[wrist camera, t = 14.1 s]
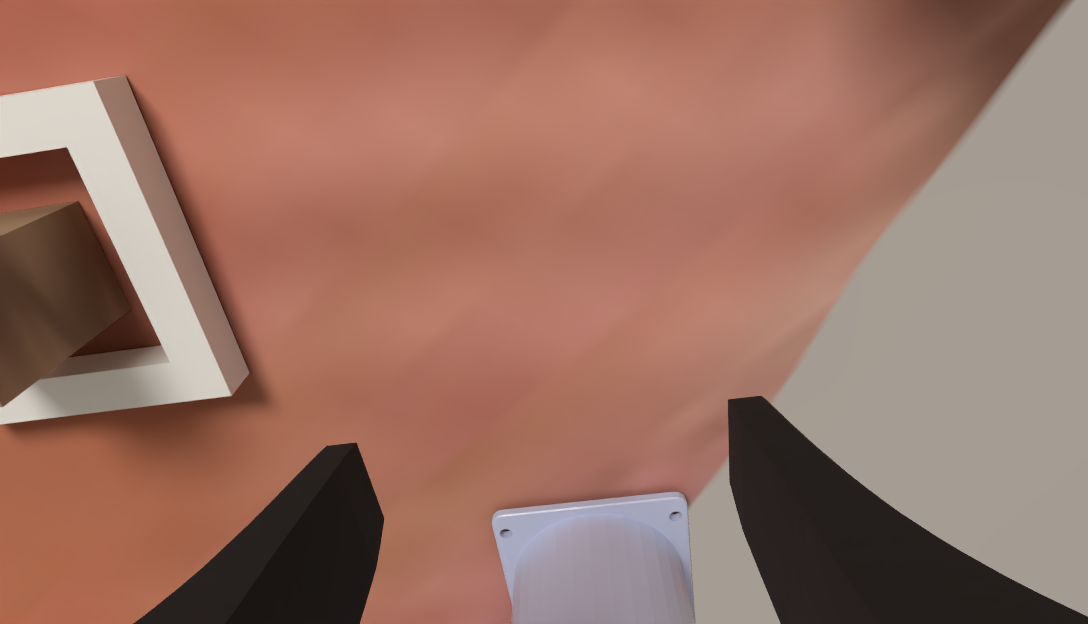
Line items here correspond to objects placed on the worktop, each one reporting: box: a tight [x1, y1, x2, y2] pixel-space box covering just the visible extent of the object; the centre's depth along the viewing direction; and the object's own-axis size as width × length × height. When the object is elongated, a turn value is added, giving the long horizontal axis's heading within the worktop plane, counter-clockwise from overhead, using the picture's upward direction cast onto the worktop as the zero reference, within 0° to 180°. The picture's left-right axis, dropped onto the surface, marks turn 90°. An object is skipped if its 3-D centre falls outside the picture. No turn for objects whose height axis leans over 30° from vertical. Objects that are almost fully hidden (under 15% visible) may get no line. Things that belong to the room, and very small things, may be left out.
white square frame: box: [0, 75, 249, 424], centre depth 21 cm, size 11×11×2 cm
